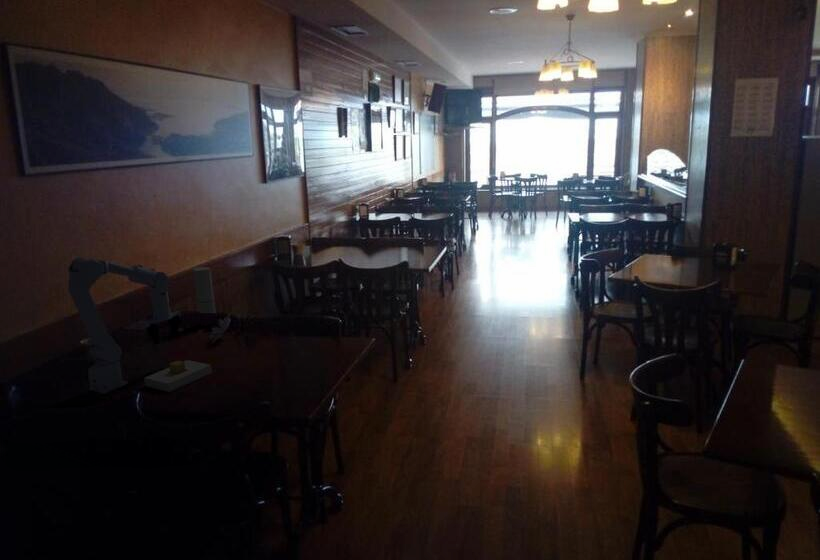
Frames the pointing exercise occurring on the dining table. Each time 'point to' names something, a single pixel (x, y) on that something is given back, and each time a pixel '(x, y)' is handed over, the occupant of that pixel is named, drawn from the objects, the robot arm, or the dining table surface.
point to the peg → (177, 367)
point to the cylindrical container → (204, 290)
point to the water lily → (220, 329)
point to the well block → (178, 376)
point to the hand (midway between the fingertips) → (165, 340)
